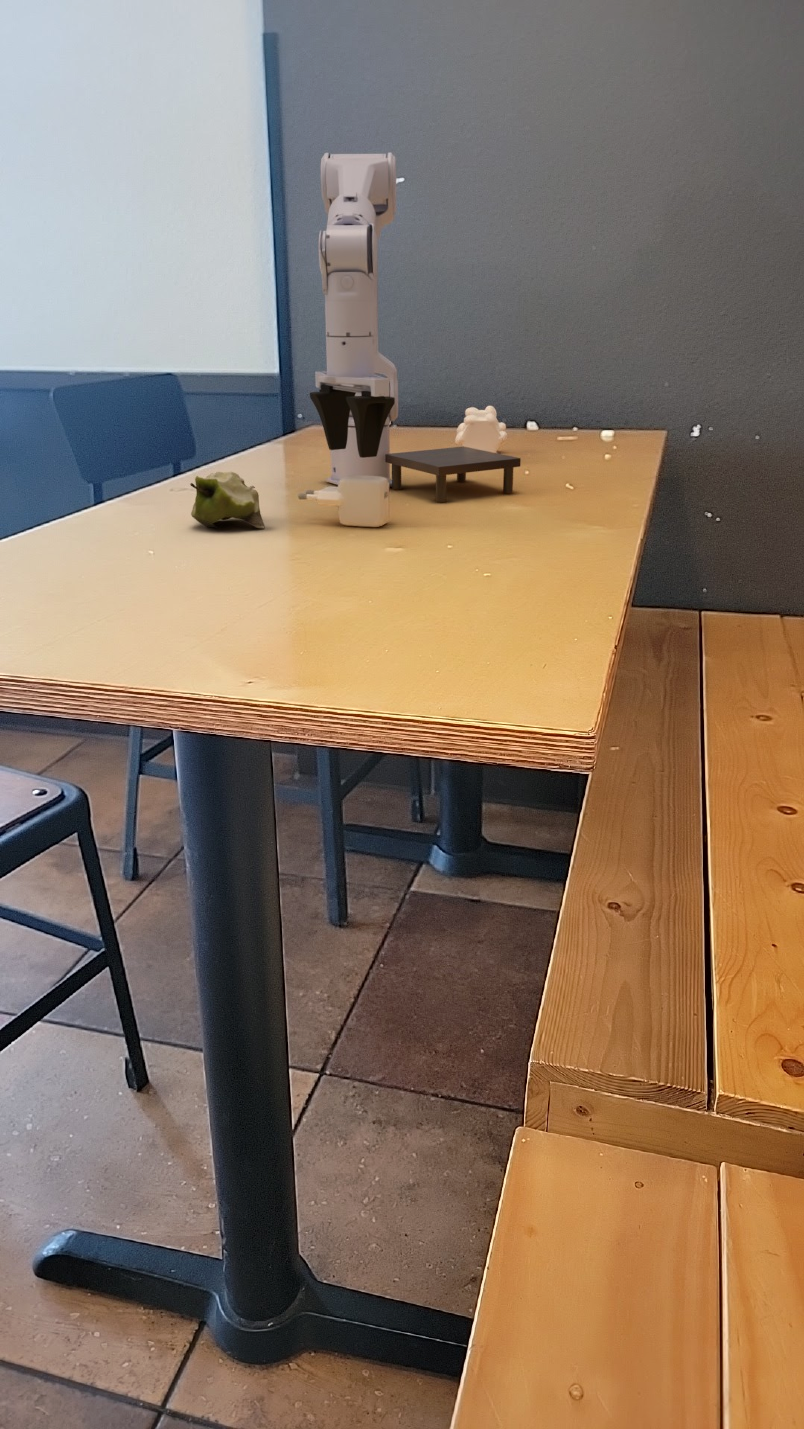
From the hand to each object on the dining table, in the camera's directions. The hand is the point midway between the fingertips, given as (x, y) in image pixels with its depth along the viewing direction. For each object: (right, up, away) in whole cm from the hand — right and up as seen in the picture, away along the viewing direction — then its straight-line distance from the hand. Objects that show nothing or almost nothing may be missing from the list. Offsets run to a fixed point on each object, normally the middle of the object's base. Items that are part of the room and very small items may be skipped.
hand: (352, 453), depth 131 cm
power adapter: (-1, -8, +3) cm, 9 cm away
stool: (+13, 0, +24) cm, 27 cm away
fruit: (-16, -9, +2) cm, 18 cm away
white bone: (+20, +12, +53) cm, 57 cm away
